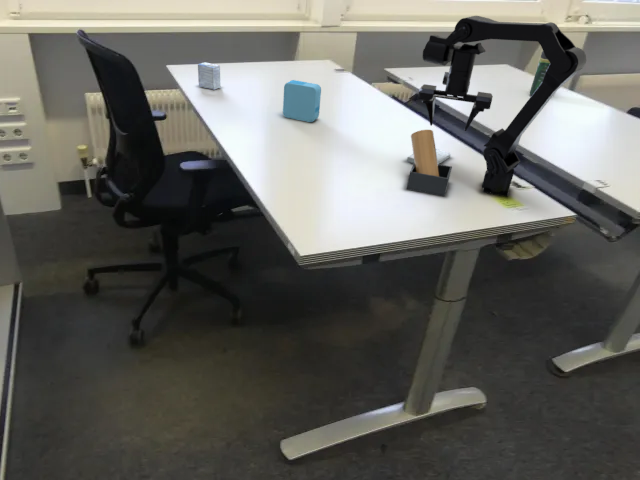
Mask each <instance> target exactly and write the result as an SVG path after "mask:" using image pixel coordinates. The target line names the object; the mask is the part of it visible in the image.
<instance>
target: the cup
mask: <svg viewBox="0 0 640 480" xmlns="http://www.w3.org/2000/svg"><path fill="white" fill-rule="evenodd" d="M410 140H411V146H412V147H411V148H412V154H413V155H414V162H415V170H416V172H417V173H422V174H428V175H433V176H439V169H438V162H437V155H436V149H437V148H436V142H435V135H434V130H432V129H421V130H417V131H414V132H413V133H411V135H410ZM439 177H440V176H439Z"/></svg>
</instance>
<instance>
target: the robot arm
mask: <svg viewBox="0 0 640 480" xmlns="http://www.w3.org/2000/svg"><path fill="white" fill-rule="evenodd" d="M428 39H429V40H427V42H426V44H425V47H424V48H423V50H422V60H423V62H425V63H429V64H434V65H438V66H442V67H443V66H444V67H445V66H447V65H448V64H449V63H450V65H449V71H444V74H443V78H442V85H444V86H445V89H444V90H442V89H441V90H440V89H437V85H432V84H425V83H424V84H422V85H421V87H420V88H419V90H418V95H417V99H418V100H420V101H421V103H422V104H425V107H426V110H427V114H428V119H429V120H428V121H429V125H430V126H433V124H434V117H435V105H436V98H438V99H445V100H452V101H460V102H467V103H473V105H472V107H471V110H470V114H469V116H468V118H467V121H466V123H465V127H464V132H467V130H468V128H469V127H470V125H471V124H472V123H473V121H474V120H475V118H476V117H477V116H478V114H479V113H480V112H482V113H484V111H485V110H490V109H491V106H492V101H493V94H492V93H490V92H484V91H483V92H482V91H477V94H468V93H469V89H470V85H471V80H472V79H471V78H472V74H473V70H474V66H475V61H476V57H477V55H483V54H485V53H486V49H485V48H484V47H483V45H482V43H481V42H482V41H488V40H499V41H500V40H501V41H519V42H520V41H522V42H537V43H538V44H539V45H540V47H541V49H542V51H543V52H544V54H545V56H546V58H547V59H548V60H549V62H550V64H549V66H548V68H547V70H546V72H545V75H544V78H543V80H542V83H541V84H540V85H539V87H538V88H537V89H536V91H535V92H534V93H533V95H530V97H529V98H528V100H527V101H526V102H525V103H524V105H523V106H522V107H521V109H520V110H519V111H518V113H517V114H516V115H515V116H514V118H513V120H512V121H511V122H510V123H509V125H508V126H507V127H506V128H505V129H504V128H503V127H501V128H500V129H499V130H497V131H495V132H493V133H492V134H491V136H490V138H489V139H488V142H486V143H485V144H483V147H484V148H483V152H482V155H483V159H484V160H485V164H486V170H485V172H484V176H483V179H482V183H481V188H482V193H484V194H490V195H495V196H501V197H505V198H507V197H509V193H510V187H511V184H512V182H513V181H512V180H513V179H514V174H515V168H517V167H518V165H520V163H521V159H520V158H519V157H518V155H517V152H516V149H517V148H518V146H519V143H520V141H521V137H522V136H523V134H524V133H525V132H526V130H527V129H528V128H529V127H530V125H531V124H532V123H533V122H534V121H535V119H536V118H537V116H538V115H539V114H540V113H541V112H542V110H544V108H545V107H546V106H547V104H548V103H549V102H550V100H551V99H552V98H553V97H554V95H555V94H556V93H557V92H558V91H559V90H560V89H561V88H562V87H563V86H564V85H565V84H567V83H568V82H569V81H570V80H571V79H572V78H574V76H575V75H577V74H578V73H579V72H580V71H581V70H582V69H583V68H584V67H585V65H586V63H587V54H586V53H585V51H584V50H583V49H582V48H581V47H577V46H576V45H575V44H574V42H573V41H572V40H571V39H570V38H569V37H568V36H566V34H565V33H564V32H562V30H561V29H560V28H559V26H558V25H557V24H556V23H555V22H544V23H543V22H519V21H518V22H516V21H497V20H494V19H491V18H489V17H485V16H480V15H471V16H468V17H463V18H461V19H459V20H458V21H457V22H456V24H455V25H454V30H453V31H452V32H451V33H450V34H449V35H448V36H447V37H444V36H441V35H438V34H431V35H429V38H428ZM480 41H481V42H480ZM460 43H461V44H462V45H457V44H460ZM471 43H475V44H471Z"/></svg>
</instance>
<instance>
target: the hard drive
mask: <svg viewBox="0 0 640 480" xmlns="http://www.w3.org/2000/svg"><path fill="white" fill-rule="evenodd" d="M436 155H437V162H438V164H440V165H441V163H443V162H445V161H446V160H448V159H449V158H451V152H449V151H445V150H441V149H438V148H436ZM406 161H407V162H408V163H410V164H412V165H413V164H414V155H413V153H412V154H411V155H409V156H407V158H406Z"/></svg>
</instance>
